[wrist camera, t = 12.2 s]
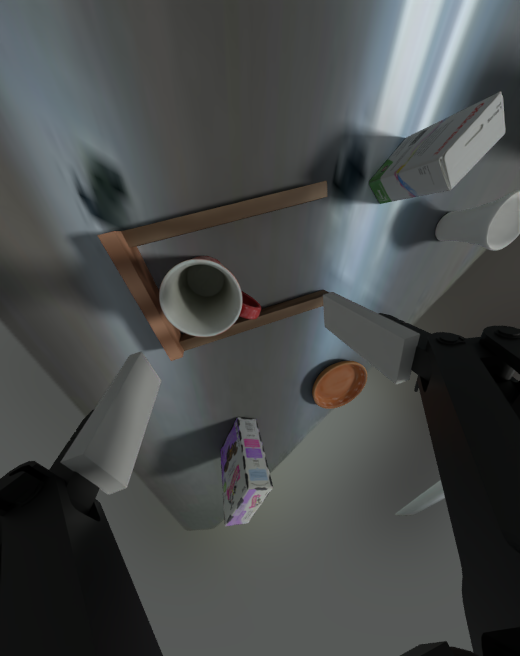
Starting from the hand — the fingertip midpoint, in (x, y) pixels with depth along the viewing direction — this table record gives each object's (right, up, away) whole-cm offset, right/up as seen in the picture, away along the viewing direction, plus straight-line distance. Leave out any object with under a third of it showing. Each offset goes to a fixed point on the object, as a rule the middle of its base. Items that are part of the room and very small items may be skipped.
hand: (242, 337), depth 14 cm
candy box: (-5, -29, +39) cm, 49 cm away
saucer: (+22, -14, +40) cm, 48 cm away
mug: (-7, +9, +20) cm, 23 cm away
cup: (+41, +23, +26) cm, 53 cm away
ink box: (+24, +28, +19) cm, 42 cm away
